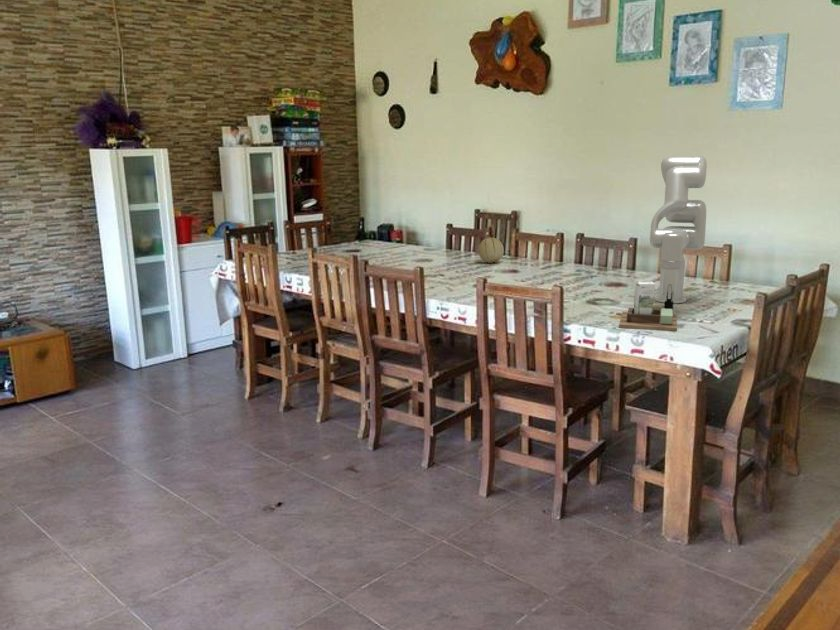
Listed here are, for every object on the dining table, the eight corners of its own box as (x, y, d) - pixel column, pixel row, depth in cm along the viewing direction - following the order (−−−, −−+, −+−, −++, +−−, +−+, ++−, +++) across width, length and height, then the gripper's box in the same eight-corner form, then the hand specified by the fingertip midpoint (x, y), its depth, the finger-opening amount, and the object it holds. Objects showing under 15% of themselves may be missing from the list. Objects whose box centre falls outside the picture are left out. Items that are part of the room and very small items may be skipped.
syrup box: (648, 317, 277) (650, 280, 273) (652, 321, 271) (654, 283, 267) (633, 317, 277) (634, 280, 273) (637, 321, 271) (639, 283, 268)
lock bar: (661, 315, 278) (661, 307, 278) (672, 316, 277) (672, 308, 276) (660, 323, 266) (661, 315, 266) (672, 324, 265) (672, 316, 264)
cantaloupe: (493, 265, 405) (493, 239, 402) (472, 263, 415) (472, 237, 412) (509, 262, 416) (509, 236, 412) (488, 260, 426) (488, 234, 422)
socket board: (622, 314, 288) (623, 304, 287) (676, 317, 281) (676, 306, 280) (619, 327, 267) (619, 316, 266) (676, 331, 261) (677, 319, 260)
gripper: (661, 261, 286) (658, 306, 290) (660, 268, 272) (657, 315, 276) (681, 261, 283) (678, 307, 288) (681, 268, 270) (678, 316, 274)
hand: (668, 311), depth 282 cm, fingers closed
